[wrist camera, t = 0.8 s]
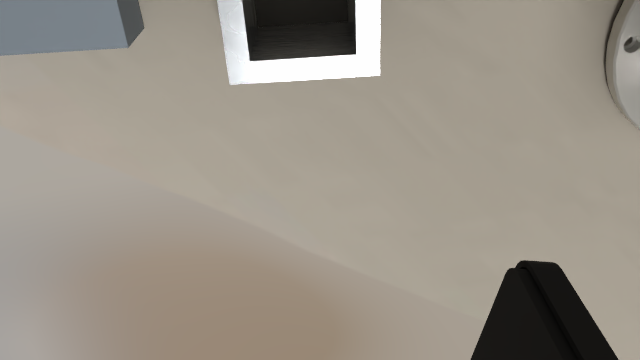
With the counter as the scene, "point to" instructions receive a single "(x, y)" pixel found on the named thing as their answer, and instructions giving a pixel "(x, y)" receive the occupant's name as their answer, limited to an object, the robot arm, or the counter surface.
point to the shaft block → (67, 25)
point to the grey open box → (300, 45)
